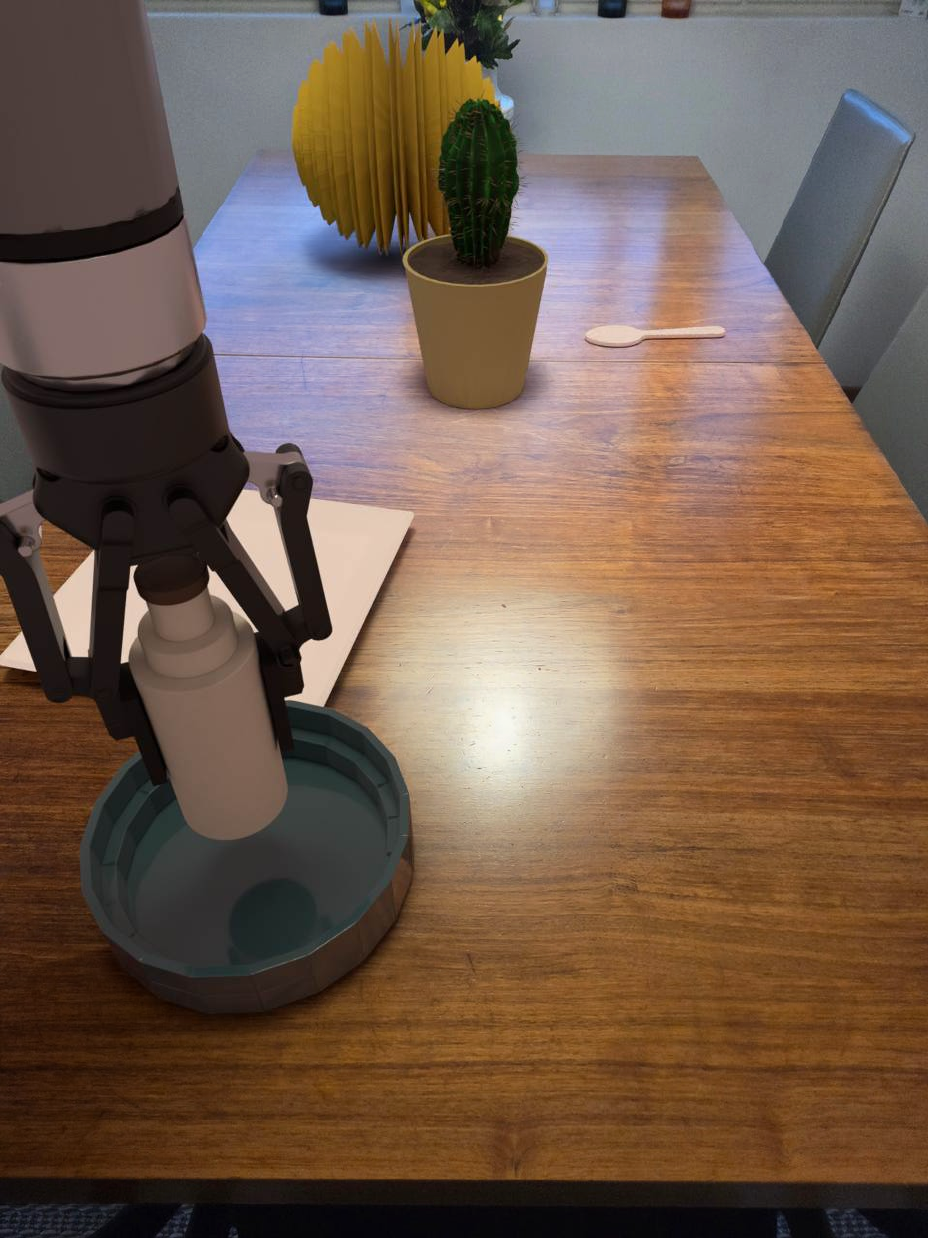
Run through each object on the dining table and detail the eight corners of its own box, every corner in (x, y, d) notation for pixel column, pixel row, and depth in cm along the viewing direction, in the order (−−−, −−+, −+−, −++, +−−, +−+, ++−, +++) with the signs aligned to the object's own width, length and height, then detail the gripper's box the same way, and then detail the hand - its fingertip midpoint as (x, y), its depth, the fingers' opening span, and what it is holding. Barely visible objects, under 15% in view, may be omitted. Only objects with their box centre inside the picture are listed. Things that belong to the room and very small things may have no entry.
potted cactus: (397, 364, 106) (379, 80, 86) (517, 348, 109) (527, 70, 89) (426, 427, 95) (414, 118, 75) (559, 407, 98) (582, 105, 78)
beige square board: (319, 739, 63) (315, 720, 62) (1, 680, 68) (-9, 661, 66) (416, 528, 82) (415, 509, 81) (162, 493, 87) (157, 475, 85)
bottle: (188, 854, 48) (103, 627, 36) (176, 771, 52) (96, 544, 40) (297, 822, 49) (248, 595, 38) (277, 744, 53) (227, 519, 42)
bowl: (114, 1069, 47) (86, 1030, 43) (97, 792, 60) (74, 745, 57) (454, 951, 51) (453, 907, 48) (368, 718, 65) (362, 671, 61)
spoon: (730, 341, 110) (731, 337, 110) (589, 347, 109) (589, 343, 109) (718, 323, 114) (718, 319, 114) (581, 329, 113) (582, 325, 113)
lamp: (510, 287, 124) (517, 33, 103) (297, 293, 123) (262, 38, 103) (496, 216, 146) (499, -5, 125) (315, 221, 145) (289, -1, 125)
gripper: (334, 274, 37) (372, 660, 53) (-170, 340, 32) (35, 744, 48) (383, 348, 32) (409, 753, 47) (-209, 439, 27) (36, 857, 43)
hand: (221, 748), depth 48 cm, fingers closed on bottle, 6 cm apart
